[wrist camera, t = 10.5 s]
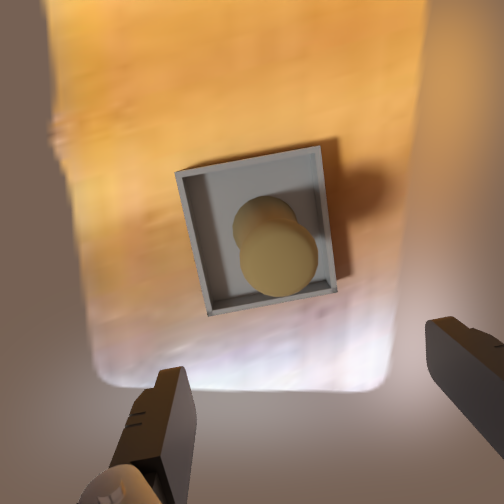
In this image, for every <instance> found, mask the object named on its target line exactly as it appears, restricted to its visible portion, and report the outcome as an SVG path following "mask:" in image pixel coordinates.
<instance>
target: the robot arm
mask: <svg viewBox="0 0 504 504" xmlns="http://www.w3.org/2000/svg"><path fill="white" fill-rule="evenodd" d="M425 336H426V360H427V367H428V370H429V372H430V375H431V377H432V378H433V380H434V382H436V384H437V385H438V386H439V387H440V388H441V390H442V391H443V392H444V393H445V394H446V395H447V396H448V397H449V399H450V400H451V401H452V402H453V403H454V404H455V405H456V406H457V407H458V409H459V410H460V411H461V412H462V413H463V414H464V415H465V416H466V418H467V419H468V420H469V421H470V422H471V423H472V424H473V426H474V427H475V428H476V429H477V430H478V431H479V432H480V433H481V434H482V436H483V437H484V438H485V439H486V440H487V441H488V442H489V443H490V445H491V446H492V447H493V448H494V449H495V450H496V451H497V452H498V454H499V455H500V456H501V457H502V458H503V459H504V344H503V343H502V342H500V341H499V340H498V339H496V338H495V337H493V336H492V335H490V334H487V333H485V332H482V331H480V330H477V329H474V328H471V329H469V328H468V327H467V326H465V325H464V324H463V323H461V322H460V321H458V320H457V319H456V318H454V317H452V316H449V317H444V318H438V319H433V320H428V321H427V322H426V324H425ZM129 415H130V416H129V417H128V420H127V422H126V424H125V428H124V430H123V432H122V435H121V437H120V440H119V442H118V445H117V448H116V450H115V453H114V455H113V458H112V461H111V463H110V466H109V468H108V469H107V470H105V471H104V472H102V473H100V474H99V475H98V476H96V477H95V478H94V479H93V480H92V481H91V482H90V483H89V484H88V485H87V487H86V488H85V489H84V491H83V493H82V494H81V496H80V499H79V502H78V503H77V504H187V497H188V489H189V481H190V473H191V465H192V457H193V450H194V442H195V434H196V425H197V419H196V409H195V404H194V400H193V396H192V393H191V389H190V385H189V381H188V378H187V374H186V371H185V368H184V367H183V366H180V367H175V368H170V369H164V370H160V371H159V374H158V377H157V380H156V383H155V386H154V388H149V389H145V390H144V391H143V392H142V394H141V395H140V396H139V397H138V398H137V399H136V401H135V402H134V404H133V406H132V409H131V412H130V414H129Z"/></svg>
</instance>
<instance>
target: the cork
mask: <svg viewBox="0 0 504 504" xmlns="http://www.w3.org/2000/svg"><path fill="white" fill-rule="evenodd" d="M232 228H233V237H234V240H235V242H236V245H237V246H238V248H239V249H240V253H239V254H240V268H241V270H242V273H243V275H244V278H245V279H246V280H247V281H248V282H249V284H250V285H251V286H252V287H253V288H254V289H256V290H257V291H259V292H261V293H263V294H264V295H268V296H273V297H285V296H289V295H292V294H295V293H297V292H299V291H301V290H302V289H303V288H304V287H306V286H307V285H308V284H309V283H310V281H311V280H312V278H313V277H314V276H315V273H316V270H317V267H318V248H317V245H316V242H315V239H314V238H313V237H312V235H311V234H310V233H309V231H308V230H307V229H306V228H305V227H303V226H302V225H300V224H298V221H297V218H296V215H295V213H294V211H293V210H292V209H291V207H290V206H289V205H288V204H287V203H285V202H284V201H282V200H281V199H279V198H275V197H272V196H259V197H256V198H254V199H251V200H249V201H248V202H246V203H245V204H244V205H243V206H241V207H240V209H239V210H238V212H237V214H236V215H235V218H234V222H233V226H232Z"/></svg>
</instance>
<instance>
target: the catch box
mask: <svg viewBox="0 0 504 504" xmlns="http://www.w3.org/2000/svg"><path fill="white" fill-rule="evenodd" d="M174 173H175V177H176V182H177V186H178V190H179V195H180V199H181V203H182V207H183V212H184V216H185V220H186V225H187V229H188V233H189V237H190V242H191V246H192V250H193V255H194V259H195V263H196V268H197V272H198V276H199V280H200V285H201V289H202V293H203V298H204V302H205V306H206V310H207V315H208V317H209V316H214V315H220V314H225V313H230V312H236V311H241V310H246V309H252V308H257V307H262V306H268V305H273V304H278V303H284V302H289V301H294V300H300V299H305V298H310V297H316V296H321V295H326V294H331V293H337V292H338V291H337V283H336V274H335V266H334V257H333V249H332V240H331V232H330V223H329V215H328V207H327V198H326V190H325V181H324V173H323V164H322V156H321V147H320V146H311V147H306V148H301V149H295V150H290V151H284V152H279V153H273V154H268V155H263V156H257V157H252V158H246V159H241V160H236V161H230V162H225V163H219V164H214V165H208V166H203V167H198V168H192V169H187V170H181V171H177V172H174ZM259 196H272V197H275V198H279V199H281V200H282V201H284V202H285V203H287V204H288V205H289V206H290V207H291V209H292V210H293V211H294V213H295V215H296V218H297V221H298V224H300V225H302V226H303V227H305V228H306V229H307V230H308V231H309V233H310V234H311V235H312V237H313V238H314V239H315V242H316V245H317V248H318V267H317V270H316V273H315V276H314V277H313V278H312V280H311V281H310V283H309V284H308V285H307V286H306V287H304V288H303V289H302V290H301V291H299V292H297V293H295V294H292V295H289V296H285V297H273V296H268V295H264V294H263V293H261V292H259V291H257V290H256V289H254V288H253V287H252V286H251V285H250V284H249V282H248V281H247V280H246V279H245V278H244V275H243V273H242V270H241V268H240V254H239V253H240V249H239V248H238V246H237V245H236V242H235V240H234V237H233V228H232V226H233V222H234V218H235V215H236V214H237V212H238V210H239V209H240V207H241V206H243V205H244V204H245V203H246V202H248V201H249V200H251V199H254V198H256V197H259Z"/></svg>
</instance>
